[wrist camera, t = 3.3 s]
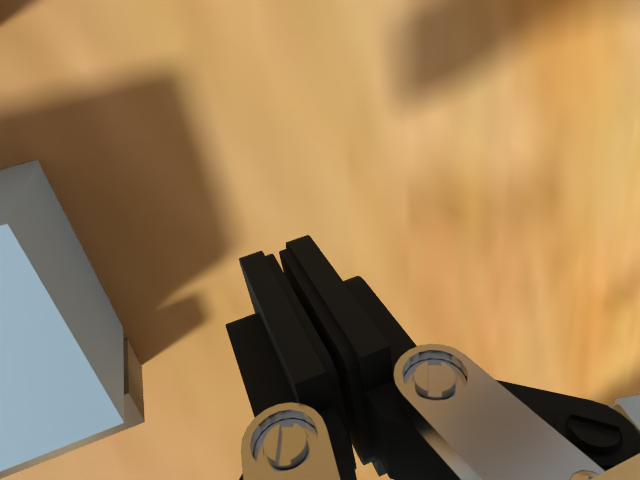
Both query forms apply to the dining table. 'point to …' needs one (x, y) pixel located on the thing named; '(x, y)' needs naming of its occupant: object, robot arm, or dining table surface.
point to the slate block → (51, 327)
